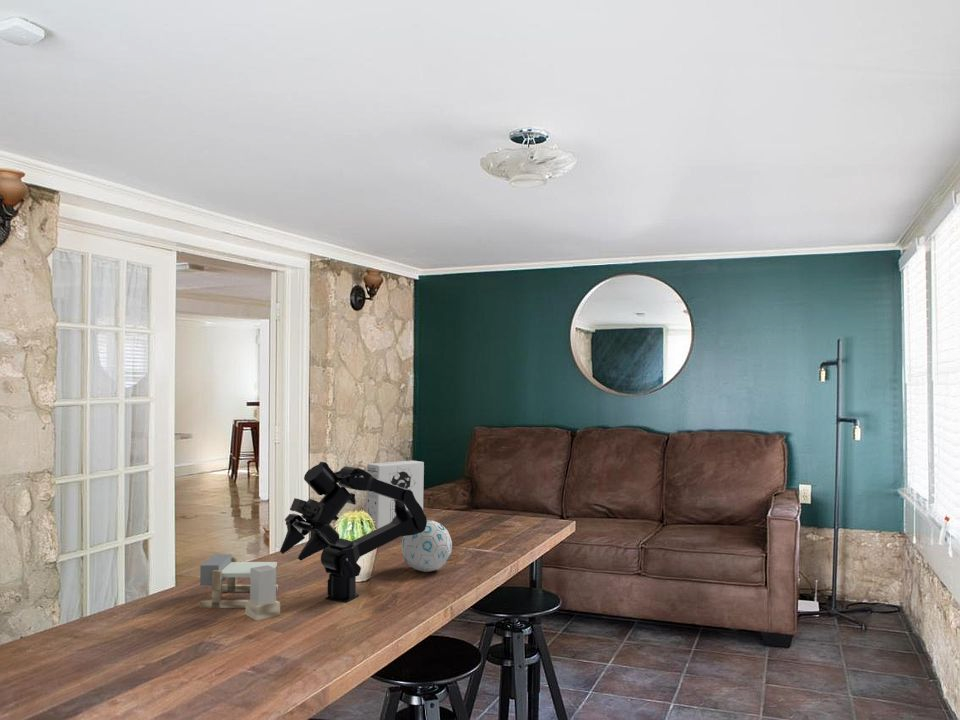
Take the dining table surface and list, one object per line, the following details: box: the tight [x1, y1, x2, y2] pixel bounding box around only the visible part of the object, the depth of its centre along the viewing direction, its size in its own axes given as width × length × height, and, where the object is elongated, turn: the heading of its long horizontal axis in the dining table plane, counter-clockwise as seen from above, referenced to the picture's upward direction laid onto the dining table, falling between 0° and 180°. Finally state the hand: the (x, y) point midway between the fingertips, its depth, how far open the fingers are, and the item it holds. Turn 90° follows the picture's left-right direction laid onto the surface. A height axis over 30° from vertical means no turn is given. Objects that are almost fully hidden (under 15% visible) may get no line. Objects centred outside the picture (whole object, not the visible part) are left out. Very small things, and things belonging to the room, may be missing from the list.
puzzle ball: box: [401, 519, 453, 573], centre depth 231 cm, size 15×15×15 cm
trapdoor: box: [199, 553, 278, 586], centre depth 200 cm, size 16×12×5 cm
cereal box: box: [365, 459, 425, 529], centre depth 296 cm, size 22×8×25 cm, turn 133°
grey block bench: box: [198, 556, 279, 609], centre depth 200 cm, size 16×16×9 cm
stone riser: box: [244, 600, 281, 621], centre depth 186 cm, size 6×6×3 cm
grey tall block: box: [249, 565, 277, 606], centre depth 186 cm, size 4×4×8 cm
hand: (290, 555), depth 191 cm, fingers open, 9 cm apart
